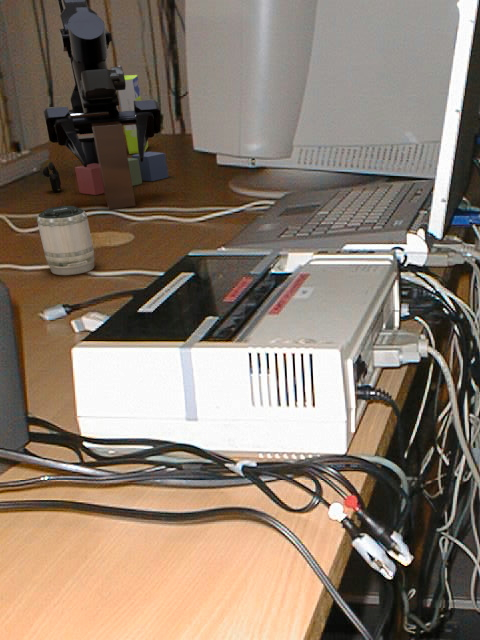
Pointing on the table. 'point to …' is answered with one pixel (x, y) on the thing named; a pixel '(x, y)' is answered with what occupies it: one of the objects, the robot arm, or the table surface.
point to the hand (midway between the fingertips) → (114, 162)
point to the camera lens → (66, 240)
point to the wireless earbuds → (53, 177)
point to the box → (127, 104)
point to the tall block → (113, 164)
